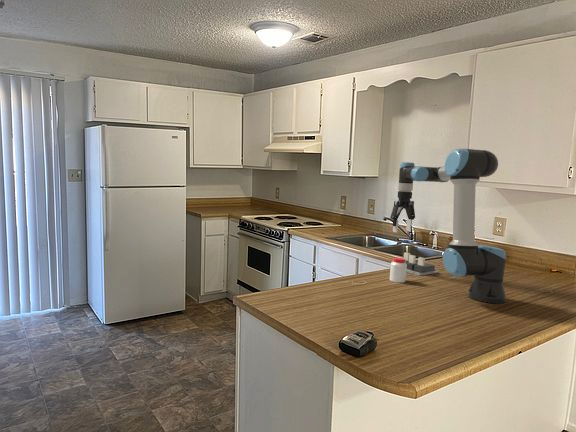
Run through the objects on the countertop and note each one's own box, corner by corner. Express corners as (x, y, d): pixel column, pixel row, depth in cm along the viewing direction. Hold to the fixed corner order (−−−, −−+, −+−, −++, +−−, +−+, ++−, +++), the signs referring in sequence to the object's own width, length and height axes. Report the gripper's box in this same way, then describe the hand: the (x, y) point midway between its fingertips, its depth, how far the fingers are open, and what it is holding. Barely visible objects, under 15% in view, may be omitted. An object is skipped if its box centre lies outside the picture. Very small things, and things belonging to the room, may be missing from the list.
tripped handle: (409, 260, 243) (410, 253, 243) (407, 260, 242) (408, 253, 242) (405, 259, 246) (406, 252, 245) (403, 259, 244) (404, 252, 244)
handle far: (424, 265, 232) (425, 258, 231) (422, 266, 231) (422, 258, 230) (419, 264, 234) (420, 257, 234) (417, 264, 233) (418, 257, 233)
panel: (437, 272, 237) (438, 265, 236) (418, 275, 228) (419, 267, 227) (410, 265, 251) (411, 258, 251) (392, 268, 242) (392, 260, 242)
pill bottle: (404, 279, 219) (406, 257, 218) (406, 283, 212) (408, 260, 210) (388, 277, 220) (390, 256, 219) (390, 281, 212) (392, 259, 211)
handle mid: (415, 263, 237) (415, 256, 236) (413, 263, 235) (413, 256, 235) (410, 262, 239) (411, 254, 238) (408, 262, 238) (409, 255, 237)
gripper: (413, 190, 245) (409, 229, 248) (385, 190, 232) (382, 231, 235) (424, 191, 239) (420, 231, 242) (396, 191, 226) (393, 233, 229)
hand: (401, 231), depth 238 cm, fingers open, 10 cm apart
